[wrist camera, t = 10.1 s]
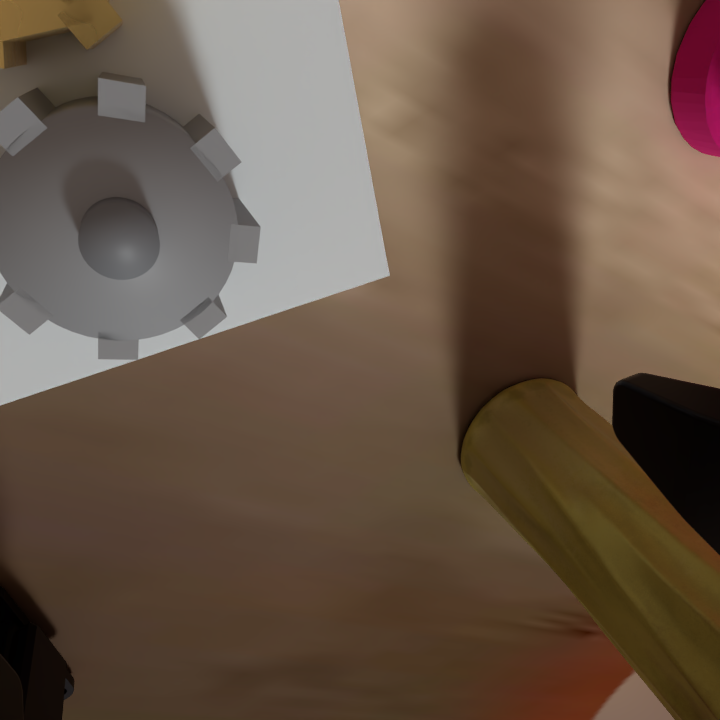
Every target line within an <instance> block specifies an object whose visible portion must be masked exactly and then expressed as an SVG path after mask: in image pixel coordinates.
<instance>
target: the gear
mask: <svg viewBox="0 0 720 720" xmlns="http://www.w3.org/2000/svg"><path fill="white" fill-rule="evenodd" d="M109 1H110V0H0V68H3V69H6V68H11V67H16V66H20V65H25V64H27V57H26V42H27V41H31V40H36V39H40V38H45V37H49V36H54V35H58V34H63V33H67V32H72V33H73V34H74V35H75V37H76V38H77V39H78V40H79V41H80V43H81V44H82V45H83V46H84V47H85V49H86V50H89V49H94V48H95V47H96V46H97V45H99V44H100V43H101V42H102V41H103V40H105V39H106V38H107V37H108V36H109V35H111V34H112V33H113V32H114V31H115V30H117V29H118V28H119V27H120V26H122V19H121V18H120V16H119V15H118V14H117V13H116V11H115V10H114V9H113V8H112V6H111V5H110V4H109Z"/></svg>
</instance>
